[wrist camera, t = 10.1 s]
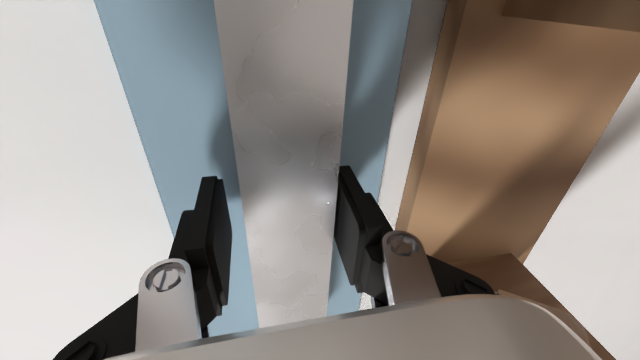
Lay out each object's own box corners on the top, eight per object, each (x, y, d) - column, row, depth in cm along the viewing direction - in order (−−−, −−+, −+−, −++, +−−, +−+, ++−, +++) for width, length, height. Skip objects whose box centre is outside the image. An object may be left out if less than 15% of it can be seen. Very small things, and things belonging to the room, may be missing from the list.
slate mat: (-63, -540, 5) (-123, -643, 4) (458, -383, 7) (487, -433, 6) (218, 353, 21) (217, 367, 21) (349, 328, 23) (353, 341, 22)
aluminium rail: (193, -189, 7) (173, -291, 4) (324, -166, 8) (373, -242, 5) (261, 330, 19) (267, 384, 16) (309, 319, 20) (322, 369, 17)
